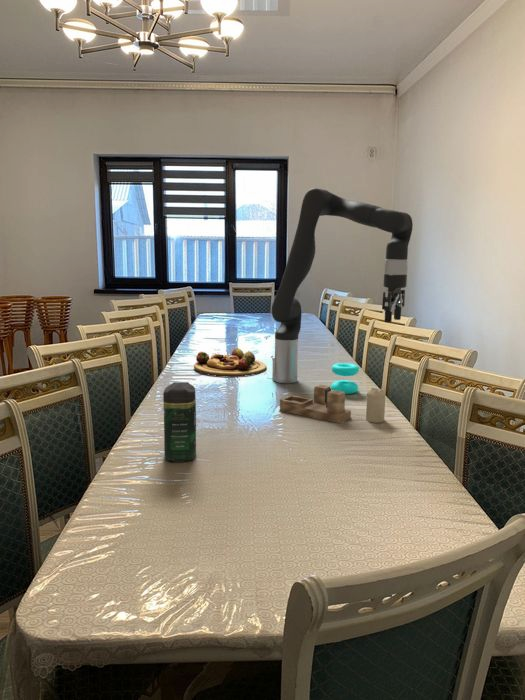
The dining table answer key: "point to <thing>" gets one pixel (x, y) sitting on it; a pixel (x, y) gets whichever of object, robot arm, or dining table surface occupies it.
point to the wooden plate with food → (229, 364)
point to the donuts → (345, 370)
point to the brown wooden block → (321, 394)
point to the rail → (318, 407)
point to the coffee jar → (179, 421)
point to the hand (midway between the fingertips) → (392, 321)
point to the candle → (375, 405)
